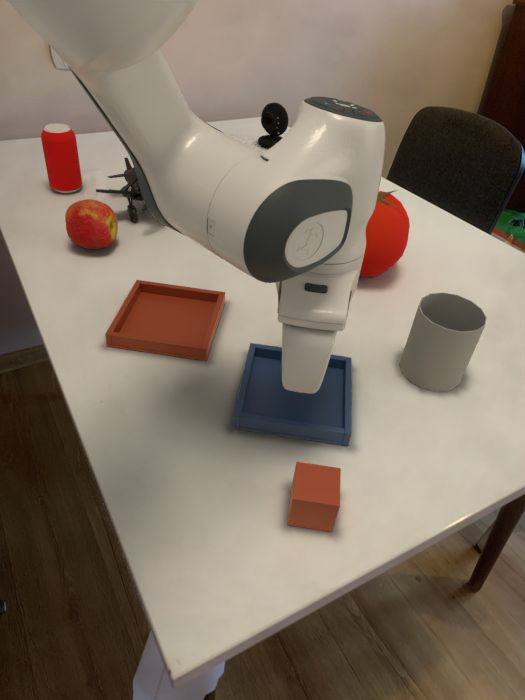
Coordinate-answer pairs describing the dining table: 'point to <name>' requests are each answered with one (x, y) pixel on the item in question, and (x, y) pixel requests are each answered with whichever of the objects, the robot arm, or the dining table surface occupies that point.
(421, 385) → the cup
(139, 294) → the rust tray
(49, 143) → the beverage can
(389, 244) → the tomato
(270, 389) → the blue tray
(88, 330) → the dining table surface
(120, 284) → the dining table surface
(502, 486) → the dining table surface
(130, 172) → the airplane toy
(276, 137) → the webcam
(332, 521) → the rust block
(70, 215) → the apple
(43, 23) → the robot arm
